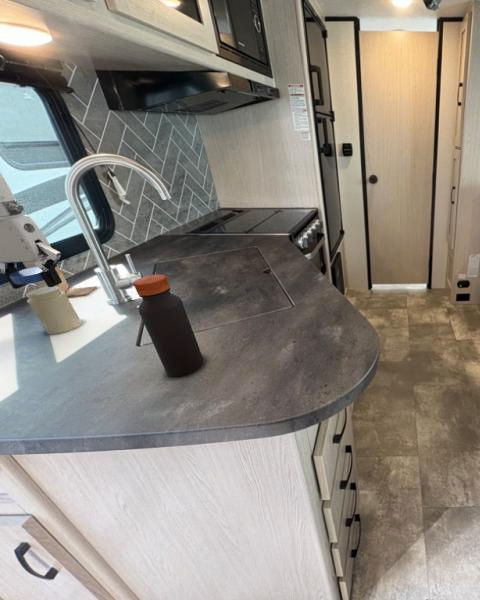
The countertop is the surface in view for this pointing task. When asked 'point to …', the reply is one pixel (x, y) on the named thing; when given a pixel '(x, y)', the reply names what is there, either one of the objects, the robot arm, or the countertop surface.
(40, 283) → the supplement box
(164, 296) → the bottle
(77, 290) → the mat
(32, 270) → the jam lid
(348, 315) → the countertop surface
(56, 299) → the jam jar
